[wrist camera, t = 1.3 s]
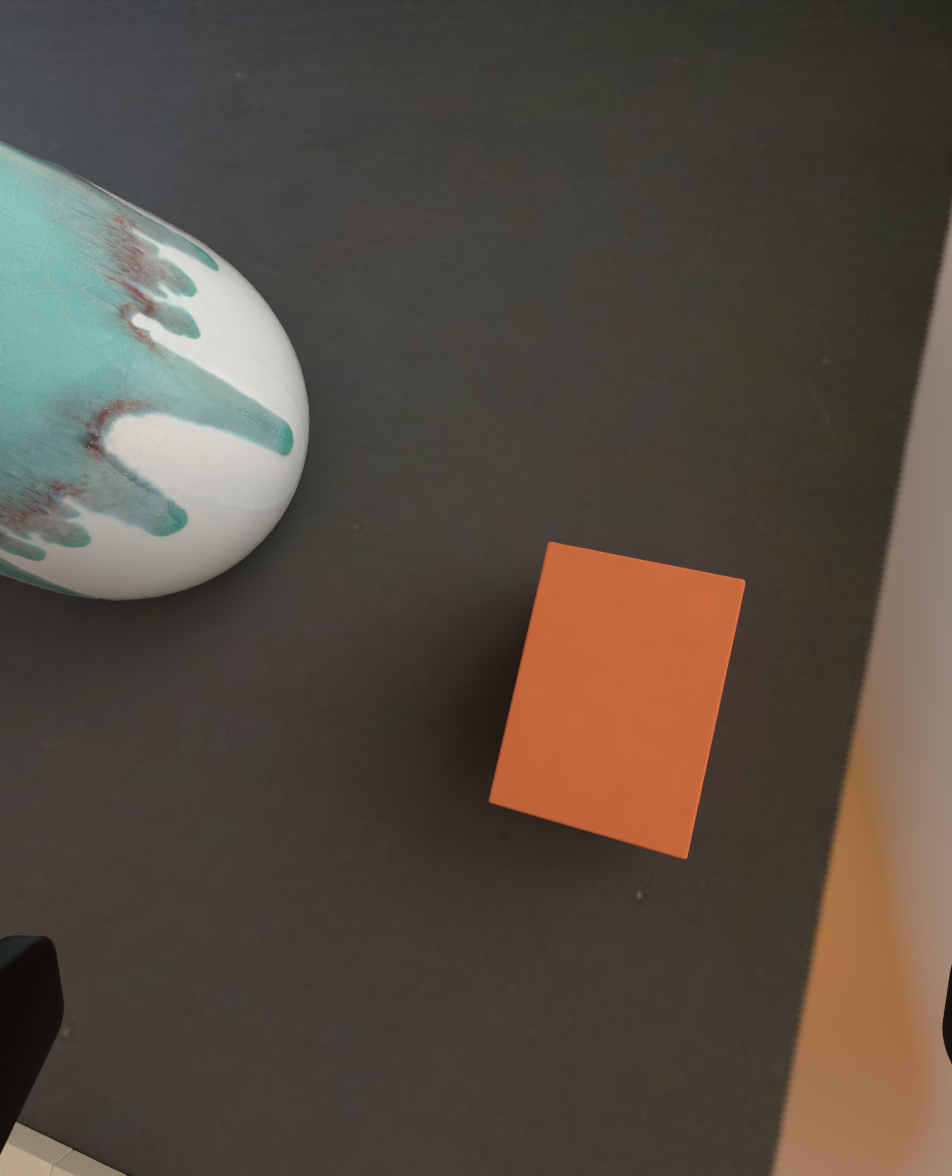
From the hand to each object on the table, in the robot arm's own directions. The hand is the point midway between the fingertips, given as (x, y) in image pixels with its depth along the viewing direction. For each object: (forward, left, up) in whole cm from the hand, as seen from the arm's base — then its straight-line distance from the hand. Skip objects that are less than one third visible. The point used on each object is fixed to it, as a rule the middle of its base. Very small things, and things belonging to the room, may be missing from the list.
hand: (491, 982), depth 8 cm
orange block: (+2, -2, -17) cm, 17 cm away
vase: (+18, +5, -17) cm, 25 cm away
